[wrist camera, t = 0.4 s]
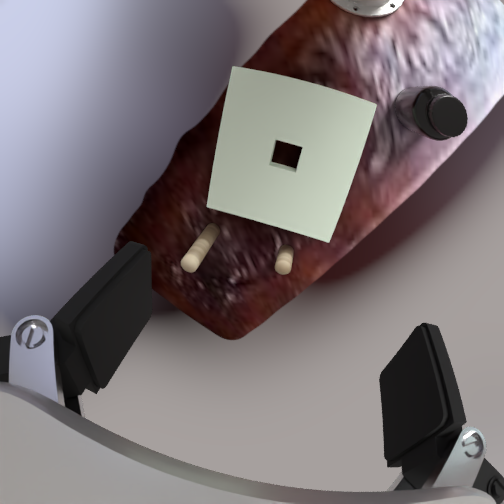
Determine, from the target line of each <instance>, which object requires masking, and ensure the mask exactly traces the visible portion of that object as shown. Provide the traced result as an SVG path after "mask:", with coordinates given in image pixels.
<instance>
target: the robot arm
mask: <svg viewBox="0 0 504 504" xmlns="http://www.w3.org/2000/svg"><path fill="white" fill-rule="evenodd" d="M330 1H331V2H332V3H333V4H335V5H336V6H338V7H339V8H341V9H343V10H345V11H347V12H349V13H352V14H355V15H358V16H363V17H382V16H386V15H389V14H391V13H393V12H394V11H396V10H397V9H398V8H399V7H400V6H401V5H402V3H403V1H404V0H330ZM390 6H392V7H393V8H391V7H390ZM354 9H357V11H355V10H354ZM151 314H152V288H151V253H150V252H149V251H147V247H146V246H145V245H142V244H139V243H135V242H132V241H130V242H129V243H127V244H126V245H125V246H124V247H123V248H122V249H121V250H120V251H119V252H118V253H116V254H115V255H114V256H113V257H112V258H111V259H110V260H109V261H108V262H107V263H106V264H105V265H104V266H103V267H102V268H101V269H100V270H99V271H98V272H97V273H96V274H95V275H94V276H93V277H92V278H91V279H90V280H89V281H88V282H87V283H86V284H85V285H84V286H83V287H82V288H81V289H80V290H79V291H78V292H77V293H76V294H75V295H74V296H73V297H72V298H71V299H70V300H69V301H68V302H67V303H66V304H65V305H64V306H63V307H62V308H61V310H60V311H59V312H58V313H57V314H56V315H55V316H54V318H53V319H51V321H49V320H48V319H46V318H45V317H42V316H39V315H32V316H28V317H25V318H23V319H22V320H20V321H19V322H18V323H17V324H16V325H15V327H14V329H13V331H12V334H11V335H9V336H4V337H0V504H504V478H503V476H502V475H501V474H500V473H499V472H498V471H497V470H496V469H495V468H494V467H493V466H492V465H491V464H490V463H489V462H488V461H487V460H486V459H485V458H484V457H485V453H486V442H485V438H484V436H483V435H482V433H481V432H480V431H479V430H478V429H477V428H475V427H466V428H465V429H463V430H462V425H463V424H465V423H466V417H465V413H464V409H463V405H462V400H461V397H460V393H459V389H458V385H457V382H456V378H455V375H454V372H453V368H452V365H451V362H450V359H449V356H448V353H447V350H446V347H445V344H444V341H443V338H442V335H441V333H440V330H439V328H438V326H436V325H432V324H428V323H422V324H421V325H420V326H417V327H416V328H415V329H414V331H413V332H412V333H411V335H410V336H409V338H408V339H407V340H406V342H405V343H404V344H403V346H402V347H401V348H400V350H399V351H398V352H397V354H396V355H395V356H394V357H393V359H392V360H391V361H390V362H389V363H388V365H387V366H386V367H385V369H384V370H383V371H382V372H381V374H380V379H379V382H380V392H381V403H382V415H383V416H382V417H383V435H384V457H385V459H386V460H387V467H401V466H402V472H401V473H400V475H399V476H398V477H397V479H396V480H395V481H394V482H393V484H392V485H391V486H390V487H389V489H388V490H387V491H385V492H341V491H323V490H312V489H303V488H294V487H286V486H280V485H274V484H268V483H263V482H257V481H252V480H247V479H243V478H239V477H234V476H230V475H227V474H223V473H219V472H215V471H212V470H208V469H204V468H201V467H198V466H195V465H192V464H189V463H186V462H182V461H180V460H177V459H174V458H171V457H169V456H166V455H163V454H161V453H158V452H156V451H153V450H151V449H148V448H146V447H143V446H141V445H139V444H137V443H134V442H132V441H130V440H128V439H126V438H123V437H121V436H119V435H117V434H115V433H113V432H111V431H109V430H106V429H105V428H103V427H101V426H99V425H97V424H95V423H93V422H91V421H89V420H87V419H86V418H85V414H84V409H83V404H82V398H81V395H82V393H83V392H84V390H85V389H88V390H90V391H92V392H94V393H95V394H97V392H98V391H99V389H100V388H102V389H103V388H105V387H106V386H107V384H108V382H109V381H110V379H111V378H112V376H113V374H114V373H115V371H116V370H117V368H118V366H119V365H120V363H121V362H122V360H123V359H124V357H125V356H126V354H127V352H128V350H129V349H130V348H131V346H132V345H133V343H134V342H135V340H136V338H137V337H138V336H139V334H140V332H141V331H142V329H143V328H144V326H145V325H146V323H147V322H148V320H149V319H150V317H151Z"/></svg>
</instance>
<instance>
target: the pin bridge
mask: <svg viewBox="0 0 504 504" xmlns="http://www.w3.org/2000/svg"><path fill="white" fill-rule="evenodd" d="M376 106H377V104H374V103H372V102H369V101H366V100H364V99H361V98H358V97H355V96H352V95H349V94H346V93H343V92H340V91H337V90H334V89H331V88H328V87H324V86H321V85H317V84H314V83H310V82H307V81H303V80H299V79H295V78H291V77H287V76H282V75H278V74H273V73H268V72H264V71H258V70H253V69H247V68H242V67H234V66H233V67H232V71H231V75H230V80H229V85H228V90H227V94H226V99H225V104H224V109H223V114H222V119H221V125H220V130H219V135H218V141H217V146H216V152H215V158H214V164H213V169H212V175H211V182H210V188H209V194H208V201H207V207H208V208H212V209H216V210H219V211H223V212H226V213H230V214H234V215H237V216H241V217H244V218H248V219H251V220H255V221H258V222H262V223H265V224H269V225H272V226H276V227H279V228H282V229H286V230H289V231H292V232H296V233H299V234H302V235H306V236H309V237H312V238H316V239H319V240H322V241H325V242H330V239H331V237H332V234H333V232H334V229H335V226H336V224H337V221H338V219H339V216H340V213H341V211H342V208H343V205H344V203H345V200H346V197H347V194H348V192H349V189H350V186H351V183H352V181H353V178H354V175H355V172H356V169H357V166H358V163H359V160H360V157H361V154H362V151H363V148H364V145H365V142H366V139H367V136H368V133H369V130H370V126H371V123H372V120H373V117H374V113H375V110H376ZM277 140H279V141H283V142H286V143H290V144H294V145H297V146H301V147H303V148H302V151H301V155H300V158H299V162H298V165H297V169H296V168H292V167H289V166H285V165H282V164H278V163H275V162H271V161H272V157H273V153H274V149H275V145H276V141H277Z"/></svg>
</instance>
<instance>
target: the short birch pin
mask: <svg viewBox="0 0 504 504" xmlns="http://www.w3.org/2000/svg"><path fill="white" fill-rule="evenodd" d="M293 254H294V250H293V248H292V247H291V246H289V245H283V246H281V247H280V249H279V252H278V256H277V260H276V264H275V270H276V271H277V272H278V273H279V274H288V273H289V272H290V270H291V266H292V260H293Z"/></svg>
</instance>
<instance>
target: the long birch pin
mask: <svg viewBox="0 0 504 504" xmlns="http://www.w3.org/2000/svg"><path fill="white" fill-rule="evenodd" d="M219 233H220V228H219V227H218V225H216V224H214V223H210V224H208V225H207V227H206V228H205V229H204V231H203V232H202V233H201V235H200V236H199V237H198V239H197V240H196V241H195V243H194V244H193V245H192V247H191V248H190V249H189V251H188V252H187V253H186V255H185V256H184V257H183V259H182V260H181V266H182V268H183V269H184V270H185V271H187V272H194V271H196V269H197V268H198V266H199V265H200V263H201V261H202V260H203V258H204V257H205V255H206V254H207V252H208V250H209V249H210V247H211V246H212V244H213V243H214V241H215V239H216V238H217V236H218V235H219Z"/></svg>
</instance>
